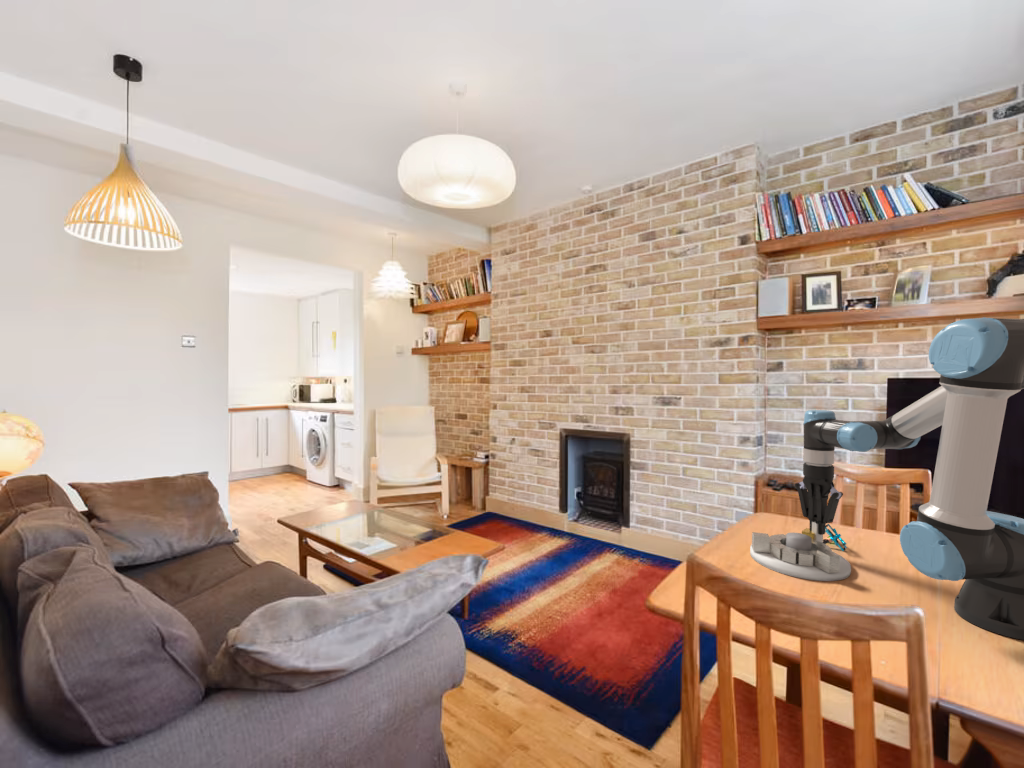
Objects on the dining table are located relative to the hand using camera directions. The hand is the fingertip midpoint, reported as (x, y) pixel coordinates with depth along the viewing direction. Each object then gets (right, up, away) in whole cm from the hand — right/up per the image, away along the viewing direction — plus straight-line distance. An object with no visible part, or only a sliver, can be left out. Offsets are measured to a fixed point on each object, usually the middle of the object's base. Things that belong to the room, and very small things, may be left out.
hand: (817, 544), depth 136 cm
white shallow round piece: (-9, -3, -5) cm, 10 cm away
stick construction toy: (+8, -3, +7) cm, 11 cm away
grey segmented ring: (-7, -1, -4) cm, 8 cm away
